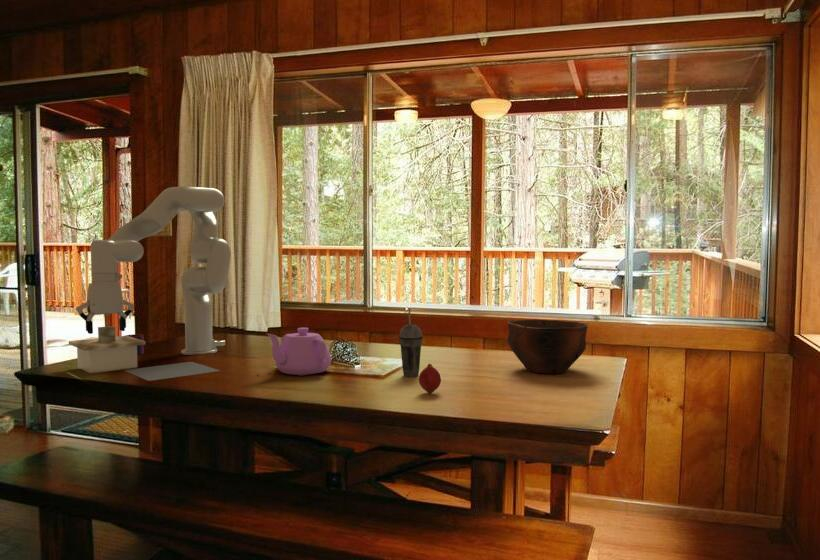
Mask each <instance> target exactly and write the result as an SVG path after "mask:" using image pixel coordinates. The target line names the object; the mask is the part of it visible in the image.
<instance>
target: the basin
mask: <svg viewBox="0 0 820 560" xmlns="http://www.w3.org/2000/svg"><path fill="white" fill-rule="evenodd" d="M76 351H77V352H76V353H77V369H78V370H79V369H81V370H82V371H84V372H87V373H89V374H96V373H103V372H104V373H105V372H111V371H112V372H113V371H121V370H129V369H137V368H138V355H137V345H135V346H126V347H116V348H107V349H97V350H87V351H84V350H82V349H79V348H77V347H76Z"/></svg>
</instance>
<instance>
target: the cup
mask: <svg viewBox="0 0 820 560" xmlns="http://www.w3.org/2000/svg"><path fill="white" fill-rule="evenodd" d="M124 336H129V337H133V338H136V339H139V340H143V341H144V334H137V333H136V334H126V335H124ZM144 348H145V345H137V356H138V355H139V356H140V355H143V354H144V353H145V350H144Z"/></svg>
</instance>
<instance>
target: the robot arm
mask: <svg viewBox="0 0 820 560" xmlns="http://www.w3.org/2000/svg"><path fill="white" fill-rule="evenodd" d="M225 201H226V199H225V196H224V194H223V193H222V191H221V190H219V189H217V188H215V187H214V188H213V187H199V186H189V185H188V186H185V185H183V186H172V187H167V188H165V189H164V190H163V191H162V192H160V194H158V196H157V197H156V198H155V199H154V200H153V201H152V202H151V203H150V204H149V205H148V206H147V207H146V209H145V210H144V211H143V212H141V213H140V214H139V215H137V216H135V217H133V218H132V219H131V220H129V221H127V223H125V224H123V225H121V226H120V227H119V228H118V229H117V230H116V231H115V232H114V233H113V234H112V235H111V236H110V237H109V238H108V239H98V240H97V239H96V240H95V239H94V240H93V241H91V243H90V267H91V268H90V269H91V270H90V271H91V282H90V283H88V287H87V294H86V296H87V297H86V302H84V303H81V305H80V304H79V306H76V307H75V311H76V312H77V314H78V315H79V316H80V317H81V318H82V319H83V320H84V321H85V331H86V332H87V333H88V334H90V335H92V334H94V327H93V326H94V325H93V321H92V320H93V318H94V317H95V316H96V315H99V316H100V315H111V314H112V315H113V314H115V315H116V314H117V315H118V316H119V317H120V318H118V328H119V329H118V330H119V331H122V332H125V331H126V328H127V318H128V317H129V315H131V313H132V311H133V309H134V307H135V305H134V303H131V302H129V301H127V300H124V295H123V290H122V286H121V283H120V282H119V280H121V279H123V274H119V273H118V263H134V262H137V261H139V260H140V259H142V257H143V256H144V252H145V251H144V250H145V249H144V246H143V245H142V244H141V242H139V241H141V240H142V239H145V238H148V237H151V236H153V235H155V234H157V233H160V232H162V231H163V230H164V229H165V228H166V227H167V225H168V224H169V223H170V222H172V220H173V219H174V218H175V217H176V216H177V214H178V213H180V212H189V214H190V216H191V217H192V220H193V234H192V239H191V244H190V251H189V255H190V259H191V260H192V261H193V262H194V263H196V264H200V265H206V267H205V266H195V267H189V268H187V269H186V270H185V271H184V272H183V273H182V275H181V278H180V280H181V281H180V283H181V289H182V293H183V299H184V300H183V302H184V330H185V331H184V332H185V336H184V337H185V348H183V349H181V353H180V354H181V355H183V356H184V355H185V356H195V355H196V356H197V355H204V354H215V353H217V352H218V348H217V347H221V346H225V345H226V340H225V339H223V340H216V339H214V337H213V307H212V305H213V304H212V300H211V296H210V295H215V294H219V293H221V292H222V291H223V290H224V289H225V287H226V285H227V282H228V277H229V269H230V266H231V265H230V264H231V259H232V258H231V257H232V251H231V250H232V249H231V247H230V244H229V243H228V242H227V240H225V239H223V238H220V237H218V233H219V232H218V231H219V223H218V220H217V217H216V216H215V214H214V213H215V212H216V213H217V212H218V211H221V210H222V208H223V207H224V205H225ZM125 306H126V307H127V308H126V310H125V311H124V307H125ZM85 308H86V312H87V314H86V313H84V311H83V310H84V309H85Z"/></svg>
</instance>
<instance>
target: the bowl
mask: <svg viewBox="0 0 820 560" xmlns="http://www.w3.org/2000/svg"><path fill="white" fill-rule="evenodd" d="M506 325H507V327H508V330H509V331H508V335H507V345H508V346H509V348H510V349H511V351H512V353H513V354H514V355H515V357H516V358H517V359H518V361H520V363H521V364H522V365H523V367H524V368H525V370H527V371H529V372H533V373H538V374H539V373H540V374H561V373H565V372H567V371H568V370H569V368H571V366H573V364H575V362H576V361H578V359H579V358H581V356H582V354H583V353H584V352H585V351H586V349H587V348H586V347H587V342H586V337H587V330H588V327H589V325H588V324H586V323H583V322H578V321H574V320H573V321H571V320H570V321H568V320H567V321H566V320H558V319H557V320H555V319H553V320H552V319H519V320H509V321H506Z"/></svg>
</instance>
